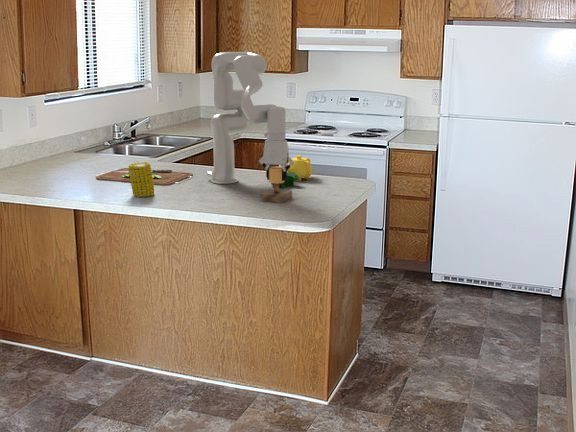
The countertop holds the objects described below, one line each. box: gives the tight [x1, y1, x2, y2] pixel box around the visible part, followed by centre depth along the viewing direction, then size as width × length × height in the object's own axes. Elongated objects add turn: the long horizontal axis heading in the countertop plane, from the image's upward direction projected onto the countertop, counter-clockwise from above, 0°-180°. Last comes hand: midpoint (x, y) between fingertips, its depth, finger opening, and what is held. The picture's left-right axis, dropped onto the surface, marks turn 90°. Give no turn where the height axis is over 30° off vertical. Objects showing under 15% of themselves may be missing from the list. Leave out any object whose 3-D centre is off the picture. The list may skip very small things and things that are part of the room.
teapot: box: [286, 155, 313, 182], centre depth 357 cm, size 14×14×11 cm
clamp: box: [270, 172, 299, 189], centre depth 341 cm, size 12×6×9 cm, turn 116°
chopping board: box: [94, 167, 195, 187], centre depth 361 cm, size 45×27×3 cm, turn 69°
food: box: [128, 161, 155, 198], centre depth 323 cm, size 15×12×10 cm
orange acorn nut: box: [268, 166, 284, 184], centre depth 315 cm, size 6×6×6 cm
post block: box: [260, 183, 293, 204], centre depth 317 cm, size 10×10×8 cm
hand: (276, 179), depth 316 cm, fingers closed on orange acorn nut, 6 cm apart
